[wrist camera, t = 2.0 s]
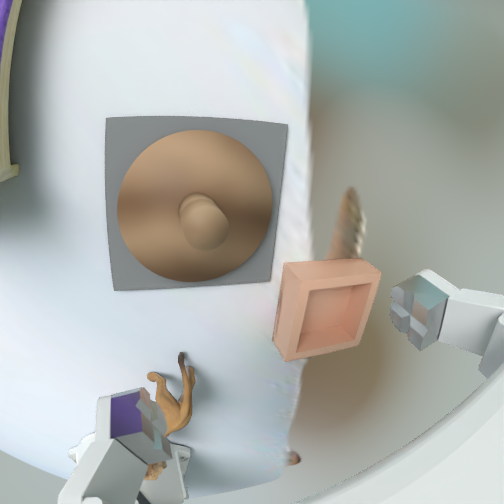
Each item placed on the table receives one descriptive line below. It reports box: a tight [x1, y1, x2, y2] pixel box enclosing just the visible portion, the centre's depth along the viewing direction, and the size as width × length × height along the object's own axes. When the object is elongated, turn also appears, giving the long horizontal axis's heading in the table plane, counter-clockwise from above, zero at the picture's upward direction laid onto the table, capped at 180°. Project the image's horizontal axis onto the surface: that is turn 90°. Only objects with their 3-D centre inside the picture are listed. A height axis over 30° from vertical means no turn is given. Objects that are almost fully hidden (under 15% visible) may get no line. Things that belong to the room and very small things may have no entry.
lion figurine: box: [144, 352, 195, 480], centre depth 26 cm, size 15×5×9 cm, turn 148°
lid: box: [117, 130, 272, 282], centre depth 21 cm, size 12×12×5 cm
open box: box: [272, 258, 382, 362], centre depth 30 cm, size 9×9×4 cm
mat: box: [105, 116, 288, 291], centre depth 23 cm, size 14×14×1 cm
